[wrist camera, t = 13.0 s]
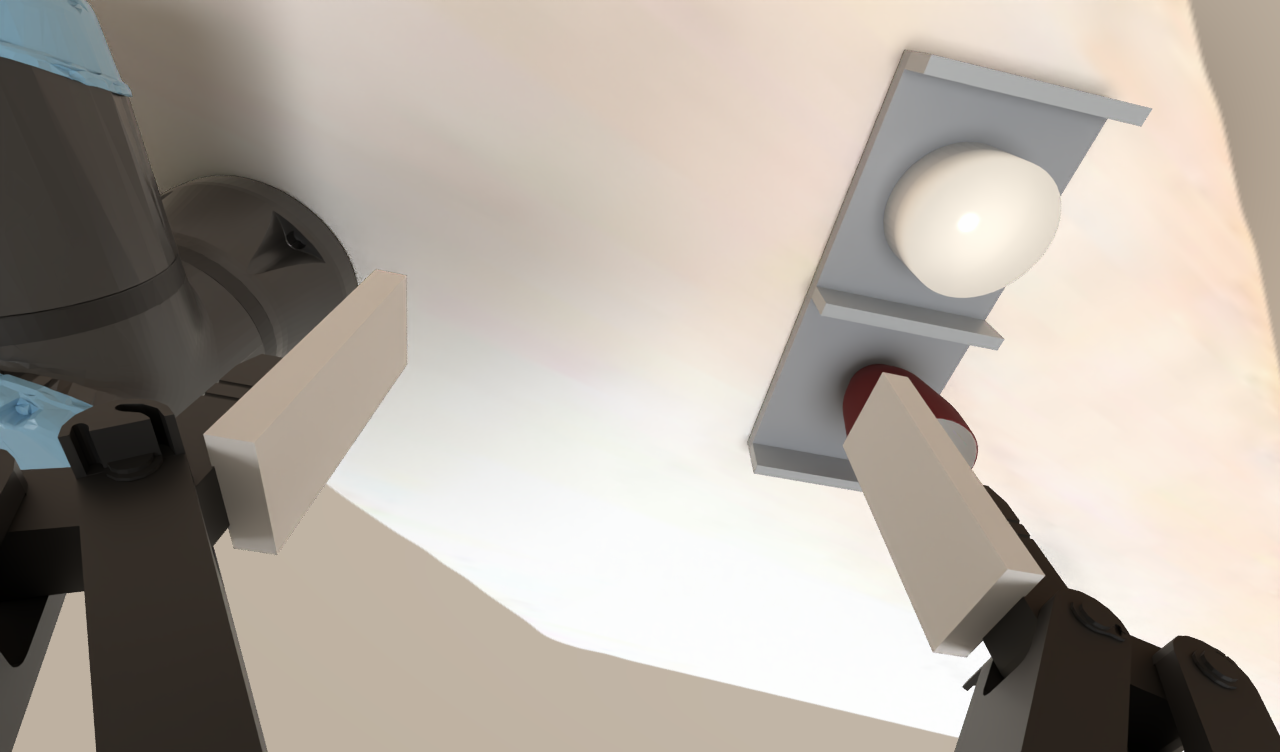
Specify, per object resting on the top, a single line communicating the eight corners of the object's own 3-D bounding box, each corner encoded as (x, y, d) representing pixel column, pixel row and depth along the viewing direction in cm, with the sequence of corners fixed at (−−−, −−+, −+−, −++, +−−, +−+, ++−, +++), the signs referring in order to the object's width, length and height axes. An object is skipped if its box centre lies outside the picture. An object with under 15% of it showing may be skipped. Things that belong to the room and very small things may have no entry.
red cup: (925, 430, 51) (978, 513, 42) (834, 449, 52) (867, 533, 44) (919, 331, 45) (979, 404, 37) (818, 355, 47) (852, 432, 38)
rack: (747, 442, 54) (753, 473, 50) (904, 49, 36) (931, 54, 32) (886, 467, 55) (902, 498, 51) (1105, 99, 37) (1152, 108, 33)
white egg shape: (863, 256, 42) (885, 283, 38) (919, 128, 37) (952, 143, 33) (975, 279, 43) (1009, 309, 38) (1044, 157, 38) (1093, 176, 34)
